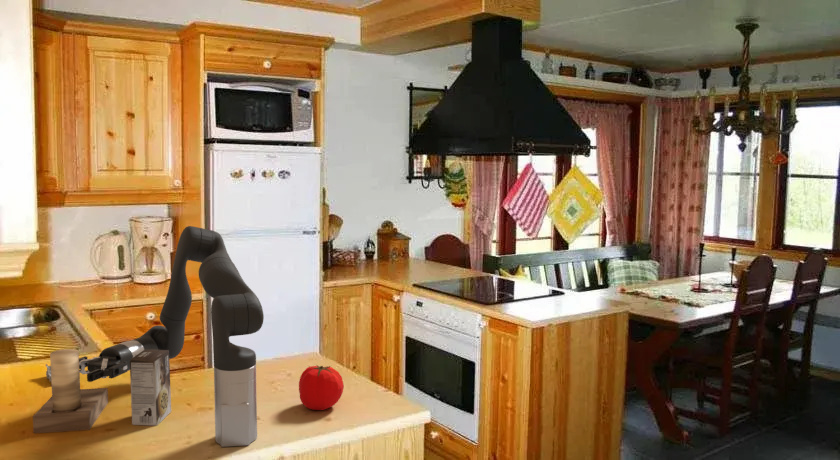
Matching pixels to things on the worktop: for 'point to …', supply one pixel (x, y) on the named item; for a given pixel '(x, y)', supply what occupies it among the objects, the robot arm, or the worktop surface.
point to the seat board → (72, 413)
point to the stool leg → (65, 380)
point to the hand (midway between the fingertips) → (74, 375)
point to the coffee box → (150, 387)
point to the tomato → (320, 387)
